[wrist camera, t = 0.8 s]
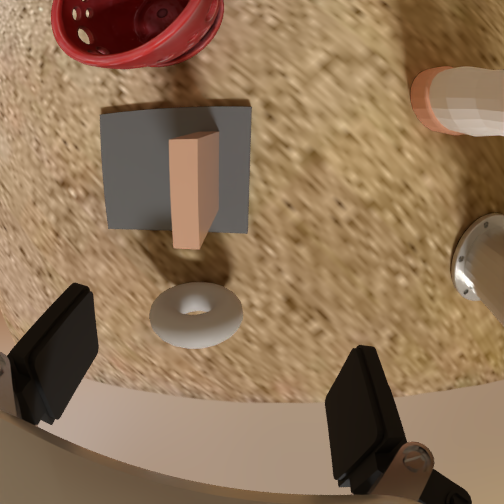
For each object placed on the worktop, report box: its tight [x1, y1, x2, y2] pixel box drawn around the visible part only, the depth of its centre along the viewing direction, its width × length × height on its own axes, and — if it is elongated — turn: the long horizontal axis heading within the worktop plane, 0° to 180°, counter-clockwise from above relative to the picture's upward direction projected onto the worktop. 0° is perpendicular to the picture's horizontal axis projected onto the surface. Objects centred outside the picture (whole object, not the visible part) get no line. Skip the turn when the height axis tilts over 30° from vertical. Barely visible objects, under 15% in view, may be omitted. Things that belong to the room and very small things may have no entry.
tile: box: [169, 131, 219, 249], centre depth 26 cm, size 2×8×10 cm, turn 178°
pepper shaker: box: [410, 66, 504, 137], centre depth 18 cm, size 7×7×19 cm
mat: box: [100, 107, 252, 234], centre depth 31 cm, size 16×13×1 cm
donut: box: [149, 282, 243, 349], centre depth 33 cm, size 10×4×10 cm, turn 90°
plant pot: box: [51, 0, 224, 69], centre depth 19 cm, size 13×13×12 cm
